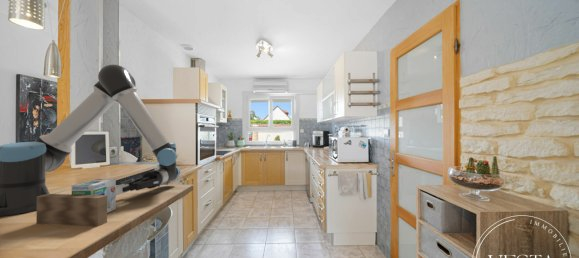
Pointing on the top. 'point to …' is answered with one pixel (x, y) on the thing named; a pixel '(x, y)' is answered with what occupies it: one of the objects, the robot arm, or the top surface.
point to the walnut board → (72, 209)
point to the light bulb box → (98, 190)
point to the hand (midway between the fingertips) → (111, 192)
